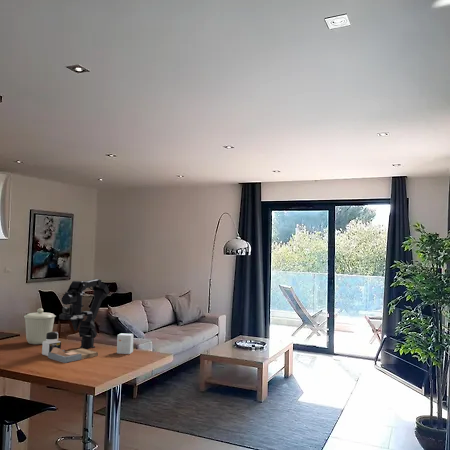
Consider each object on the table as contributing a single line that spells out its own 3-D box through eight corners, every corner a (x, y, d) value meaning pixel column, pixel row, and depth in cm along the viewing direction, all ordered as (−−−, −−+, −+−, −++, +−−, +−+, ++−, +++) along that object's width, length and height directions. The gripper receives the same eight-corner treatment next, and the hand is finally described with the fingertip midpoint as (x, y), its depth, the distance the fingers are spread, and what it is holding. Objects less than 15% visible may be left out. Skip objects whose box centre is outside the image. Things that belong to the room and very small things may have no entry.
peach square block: (72, 357, 233) (72, 351, 234) (77, 359, 231) (78, 353, 231) (64, 359, 229) (64, 353, 229) (69, 360, 226) (70, 354, 227)
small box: (133, 352, 252) (133, 333, 252) (130, 354, 246) (130, 335, 247) (119, 351, 253) (120, 333, 253) (116, 353, 247) (117, 334, 248)
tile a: (53, 347, 233) (50, 352, 231) (59, 348, 230) (56, 353, 228) (60, 351, 236) (56, 356, 234) (65, 353, 233) (62, 358, 231)
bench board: (82, 351, 248) (82, 348, 248) (97, 355, 240) (98, 352, 240) (65, 355, 239) (65, 351, 239) (81, 359, 231) (81, 355, 231)
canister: (23, 340, 274) (25, 306, 275) (54, 339, 280) (56, 306, 281) (21, 346, 257) (23, 310, 258) (54, 345, 263) (56, 310, 265)
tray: (64, 355, 239) (64, 349, 240) (81, 359, 231) (81, 353, 231) (48, 358, 231) (48, 352, 232) (65, 363, 223) (65, 357, 223)
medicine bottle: (48, 356, 235) (50, 334, 236) (41, 354, 239) (42, 332, 240) (60, 354, 241) (61, 332, 242) (53, 352, 245) (54, 330, 246)
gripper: (81, 300, 262) (80, 326, 260) (54, 302, 246) (52, 330, 245) (93, 302, 255) (92, 329, 254) (65, 304, 240) (64, 333, 239)
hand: (75, 330), depth 248 cm, fingers closed
